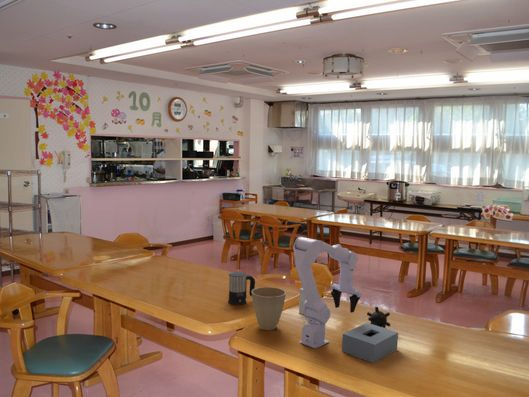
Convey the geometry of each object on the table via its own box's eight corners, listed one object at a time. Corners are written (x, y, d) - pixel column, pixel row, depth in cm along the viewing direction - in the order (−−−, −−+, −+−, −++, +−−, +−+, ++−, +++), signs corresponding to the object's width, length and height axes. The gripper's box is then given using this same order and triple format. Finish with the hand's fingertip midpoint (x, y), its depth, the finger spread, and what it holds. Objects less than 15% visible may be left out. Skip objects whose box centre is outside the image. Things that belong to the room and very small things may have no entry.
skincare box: (305, 310, 225) (306, 286, 224) (312, 312, 223) (314, 288, 222) (298, 313, 221) (299, 288, 220) (305, 315, 218) (306, 290, 217)
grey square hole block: (373, 363, 170) (374, 344, 169) (341, 351, 179) (342, 333, 178) (397, 349, 183) (398, 332, 182) (366, 338, 192) (367, 322, 191)
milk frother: (234, 306, 227) (235, 276, 226) (216, 298, 239) (217, 270, 238) (257, 301, 236) (258, 273, 235) (238, 293, 248) (239, 266, 247)
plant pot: (267, 318, 211) (268, 284, 210) (291, 328, 201) (293, 292, 199) (243, 326, 201) (244, 290, 199) (267, 336, 190) (268, 299, 189)
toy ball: (384, 330, 195) (360, 317, 202) (385, 339, 203) (362, 326, 209) (395, 311, 199) (371, 299, 206) (396, 321, 207) (373, 309, 213)
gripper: (366, 280, 193) (364, 311, 194) (337, 273, 203) (336, 303, 204) (357, 283, 188) (355, 315, 189) (328, 276, 198) (326, 306, 199)
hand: (344, 309), depth 197 cm, fingers open, 7 cm apart
